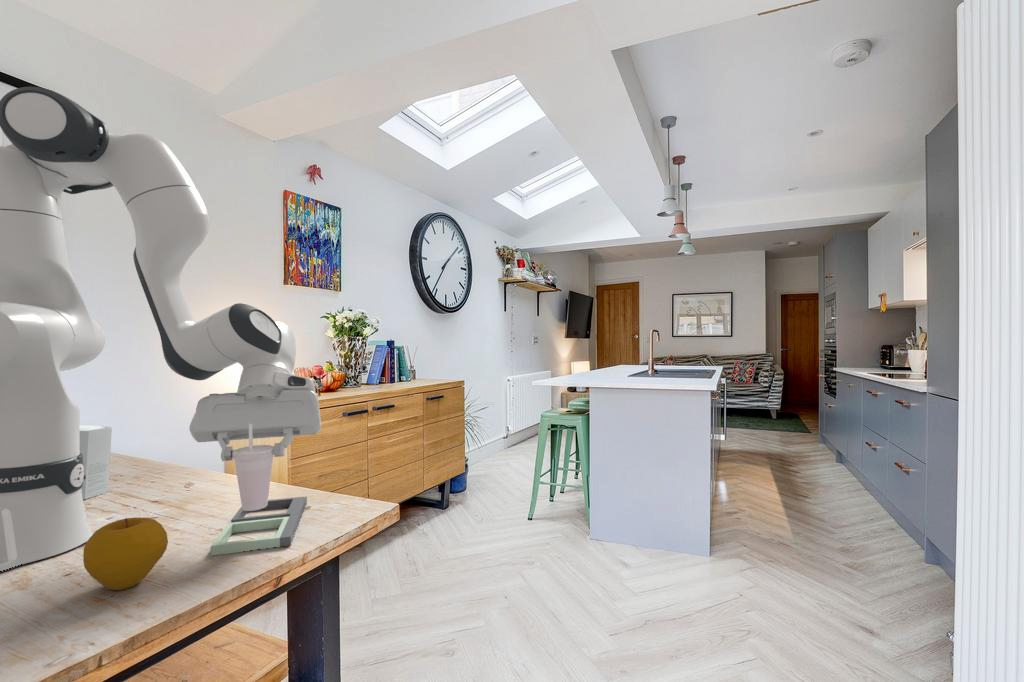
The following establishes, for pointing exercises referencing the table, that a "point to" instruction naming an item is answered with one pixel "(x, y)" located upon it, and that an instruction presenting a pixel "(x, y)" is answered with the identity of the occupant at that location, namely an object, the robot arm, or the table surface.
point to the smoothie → (253, 473)
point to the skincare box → (95, 459)
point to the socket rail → (262, 527)
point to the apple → (124, 551)
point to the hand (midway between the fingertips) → (253, 456)
